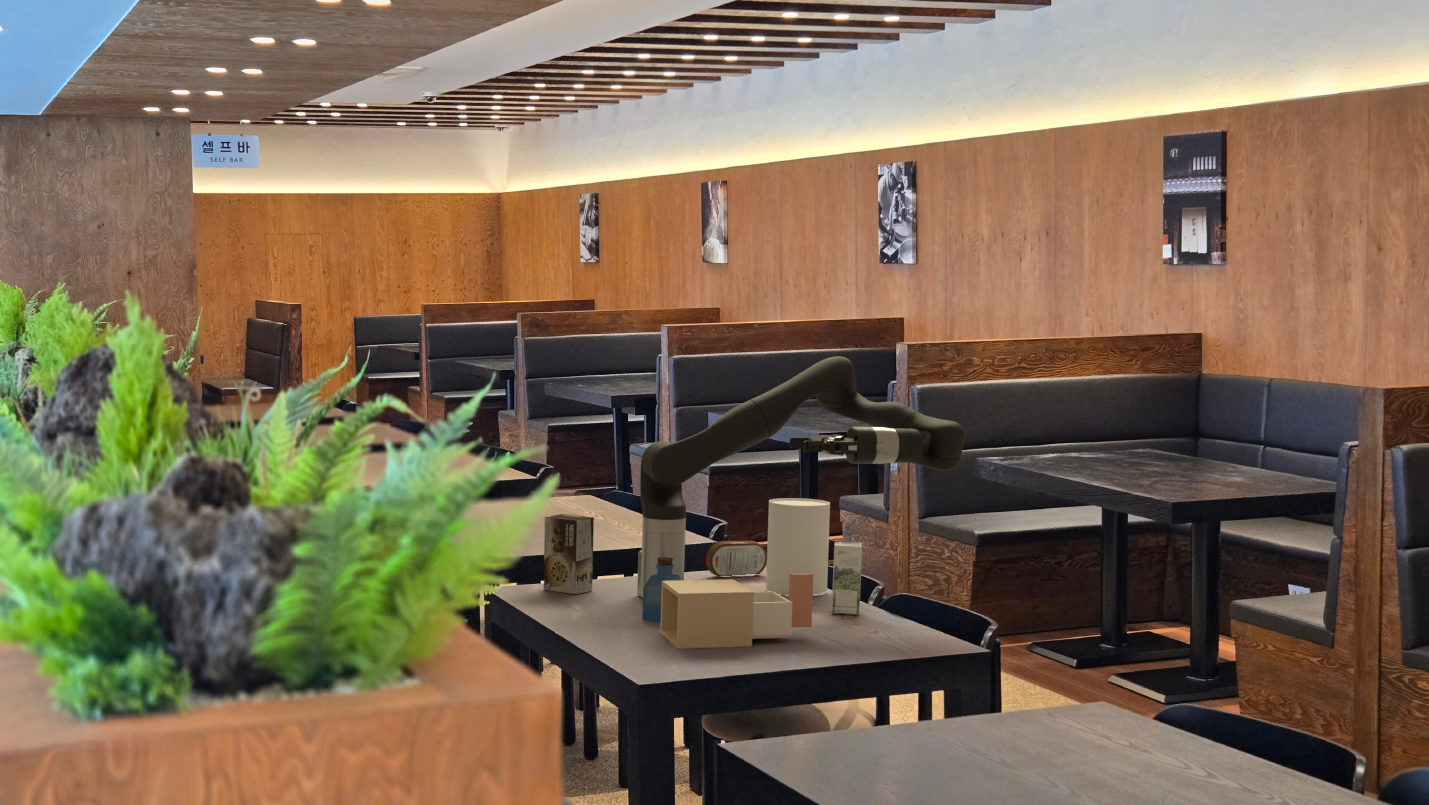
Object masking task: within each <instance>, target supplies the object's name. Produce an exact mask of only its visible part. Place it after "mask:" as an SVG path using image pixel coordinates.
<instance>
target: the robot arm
mask: <svg viewBox="0 0 1429 805" xmlns="http://www.w3.org/2000/svg"><path fill="white" fill-rule="evenodd" d="M857 389H858V388H857V380H856V372H855V368H854V364H853V363H852V361H851V360H850V359H849V358H847V357H845V356H837V355H836V356H831V357H828V358H824V359H822V360H820V361H818V362H816V363H814V364H812V365H811V366H810V367H808V368H806V369H805V370H803V371H801V372H799V373H798V374H797V375H795V376H793V377H792V378H790V379H789V380H787V381H785V382H783V383H781V384H780V385H777V386H775V387H774V388H772V389H770V390H768V391H766V392H764V393H762V394H760V395H758V396H756V397H753V398H751V399H749V400H747V401H745V402H743V403H741V404H739V405H737V406H735V407H733V408H731V409H729V410H728V411H726V412H725V413H724V414H722V415H721V416H720V417H718V418H717V419H716V420H715V421H714V422H713V423H712V424H710V425H708V427H706V428H705V429H704V430H702V431H700V432H698V433H696V434H693V435H691V436H688V437H686V438H684V439H681V440H678V441H675V442H670V441H665V440H664V441H663V440H660V441H654V442H652V443H651V444H649V445H648V446H647V447H646V448H645V449H644V452H643V454H642V457H641V459H640V460H641V461H640V476H639V477H640V485H639V486H640V494H639V495H640V503H641V508H642V528H641V530H642V531H641V532H642V533H641V536H642V537H641V549H640V550H639V551H638V552H637V553H638V555H637V557H638V558H637V560H638V561H637V588H636V590H637V592H636V593H637V594H636V595H638V596H640V598H642V599H643V588H644V586H645V584H646V583H647V581H648V580H649V578H650V576H651V575H654V574H657V573H658V570H657V569H656V564H658V560H657V558H659V557H670V558H673V561H672V564H674V567H673V570H672V574H677V575H679V577H680V579H681V580H685V559H686V558H685V556H686V553H685V552H686V524H687V522H686V520H687V519H686V517H687V506H686V503H685V501H684V496H683V487H682V486H683V485H682V484H683V483H685V482H686V481H688V480H690V479H691V478H692V477H694V476H695V475H697V474H698V473H700V472H702V471H703V470H705V469H707V468H708V467H709V466H711V465H713V464H714V463H716V462H719V461H721V460H723V459H726V458H728V457H731V456H733V455H736V454H737V453H740V452H743V451H744V450H747V449H748V448H751V447H753V446H755V445H758V444H760V443H761V442H763V441H765V440H767V439H770V438H772V437H773V436H775V435H777V433H778V432H780V430H782V428H784V427H785V425H786V424H787V423H788V421H789V420H790V419H791V418H792V416H793V415H794V414H795V413H796V412H797V410H798V409H799V408H800V407H801V406H802V405H803V404H805V403H806V402H807V401H809V400H810V399H812V398H814V397H815V399H816V402H817V403H818V404H819V406H820V407H821V408H823V409H824V410H827V411H828V412H831V413H833V414H837V415H839V416H842V417H845V418H849V419H851V420H854V421H856V422H860V423H862V424H865V425H869V426H851V427H849V428H848V429H847V431H846V435H840V434H831V435H830V434H829V435H826V434H820V435H819V434H818V435H814V436H813V435H806V437H803V436H802V437H801V436H796V437H795V436H791V437H790V438H789V446H788V447H789V448H791V449H803V452H804V453H823V454H825V455H826V454H827V455H830V456H831V455H832V456H845V457H846V460H847V461H848V462H849V463H850V464H854V465H855V464H856V465H857V464H863V465H864V464H865V465H866V464H867V465H869V464H870V465H871V464H873V465H874V464H875V465H876V464H877V465H878V464H880V465H881V464H883V465H884V464H890V463H891V464H893V463H894V464H895V463H905V464H907V463H908V464H909V463H910V464H914V465H919V466H923V467H927V468H930V469H933V470H935V471H939V472H949V471H952V470H955V469H956V468H957V467H959V464H960V462H961V460H962V459H961V458H962V455H963V450H964V449H963V448H964V445H965V441H966V438H967V434H966V430H965V429H964V427H963V426H962V425H961V424H960V423H959V422H956V421H953V420H948V419H941V418H936V417H933V416H929V415H925V414H923V413H921V412H919V411H917V410H915V409H913V408H911V407H910V406H908V405H906V404H903V403H900V402H897V401H882V402H877V401H876V402H875V401H871V400H869V399H868V398H865V397H864V396H863V395H861V394H860V393H859V392H858V391H857ZM929 436H930V438H929ZM928 438H929V441H928V446H927V448H924V443H925V442H926V440H927V439H928Z"/></svg>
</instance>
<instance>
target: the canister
mask: <svg viewBox="0 0 1429 805" xmlns="http://www.w3.org/2000/svg"><path fill="white" fill-rule="evenodd" d="M830 512H831V502H829V501H826V500H822V499H815V498H814V499H813V498H802V497H801V498H800V497H797V498H795V497H794V498H792V497H787V498H785V497H783V498H781V497H780V498H773V499H772V498H771V499H769V500H768V517H767V518H768V520H767V546H766V547H767V550H766V553H767V563H766V576H765V577H766V579H765V581H766V582H765V590H766V589H767V590H768V591H771V592H776V593H777V594H781V595H789V580H790V573H811V574H813V594H820V593H823V592H825V591H827V592H828V576H829V574H828V573H829V572H828V570H829V546H830V544H829V543H830V541H829V540H830V517H831V516H830V515H831V513H830Z"/></svg>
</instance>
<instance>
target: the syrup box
mask: <svg viewBox="0 0 1429 805" xmlns="http://www.w3.org/2000/svg"><path fill="white" fill-rule="evenodd" d="M862 544H863V542H851V541H834V547H833V548H834V549H833V573H832V575H833V576H832V595H831V596H832V597H831V599H832V601H831V614H832V615H841V614H846V615H845V616H859V615H860V610H861V608H860V605H861V604H860V603H861V585H862V584H861V582H862V581H861V580H862V561H863V560H862V558H863V546H862Z"/></svg>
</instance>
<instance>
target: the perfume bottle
mask: <svg viewBox="0 0 1429 805" xmlns="http://www.w3.org/2000/svg"><path fill="white" fill-rule="evenodd" d="M657 560H658V564H656V569H657V570H658V573H657V574H654V575H651V576H650V578H649V580H648V581H647V583H646V584H645V586H644V588H643V598H642V611H641V612H642V617H641V618H642V620H647V621H653V622H654V621H655V622H660V623H661V595H662V581H676V580H681V579H680V577H679V575H677V574H672V570H673V567H674V564H672V561H673V558H670V557H659V558H657Z"/></svg>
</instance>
